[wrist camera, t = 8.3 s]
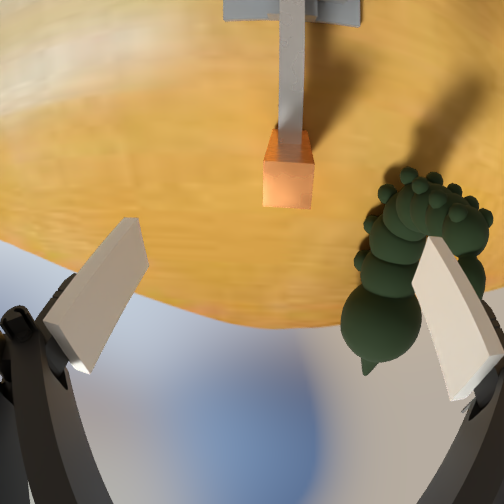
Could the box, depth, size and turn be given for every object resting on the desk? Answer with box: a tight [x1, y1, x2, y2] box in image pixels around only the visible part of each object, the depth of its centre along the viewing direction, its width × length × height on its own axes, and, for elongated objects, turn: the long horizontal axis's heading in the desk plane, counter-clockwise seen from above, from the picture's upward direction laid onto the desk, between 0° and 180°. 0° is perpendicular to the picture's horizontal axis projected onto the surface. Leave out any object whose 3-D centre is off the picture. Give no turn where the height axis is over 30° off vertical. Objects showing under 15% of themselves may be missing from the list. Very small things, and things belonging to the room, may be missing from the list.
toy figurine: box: [341, 166, 493, 376], centre depth 26 cm, size 9×19×25 cm
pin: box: [263, 0, 315, 209], centre depth 20 cm, size 3×16×10 cm, turn 0°
